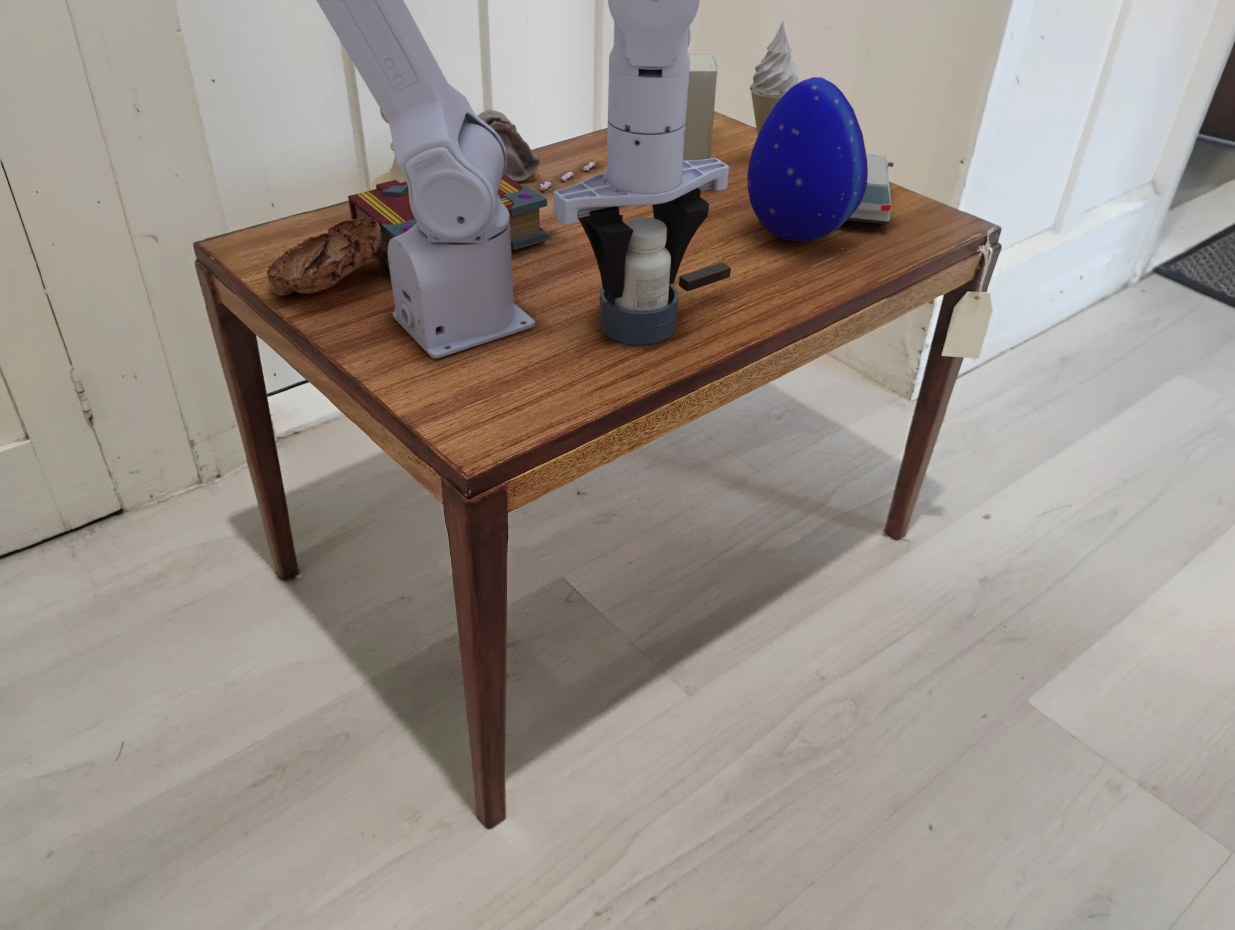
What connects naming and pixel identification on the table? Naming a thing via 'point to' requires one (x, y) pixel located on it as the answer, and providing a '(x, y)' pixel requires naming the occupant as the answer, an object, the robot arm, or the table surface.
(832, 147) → the ornament
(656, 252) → the pill bottle
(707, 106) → the cosmetic box
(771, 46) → the ice cream cone
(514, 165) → the dental mold
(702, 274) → the dark grey rectangular bar
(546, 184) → the pink molecule models
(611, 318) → the dark grey open cylinder
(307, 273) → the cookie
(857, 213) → the toy car
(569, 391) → the table surface
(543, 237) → the decorative book
